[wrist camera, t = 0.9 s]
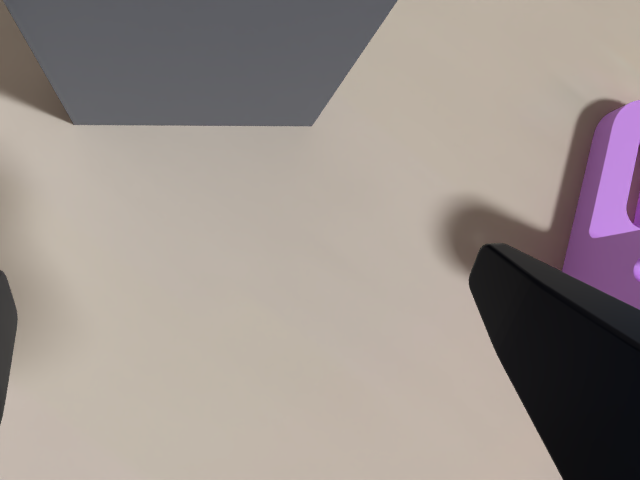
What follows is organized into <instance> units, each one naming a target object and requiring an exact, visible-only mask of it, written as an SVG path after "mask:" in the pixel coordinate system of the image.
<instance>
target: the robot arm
mask: <svg viewBox="0 0 640 480" xmlns="http://www.w3.org/2000/svg"><path fill="white" fill-rule="evenodd" d="M469 287H470V290H471V293H472V295H473V298H474V300H475V303H476V305H477V308H478V310H479V312H480V315H481V317H482V320H483V322H484V325H485V327H486V330H487V332H488V335H489V337H490V340H491V342H492V344H493V347H494V349H495V351H496V353H497V356H498V358H499V360H500V362H501V364H502V365H503V367H504V369H505V371H506V373H507V375H508V377H509V379H510V381H511V382H512V384H513V386H514V388H515V390H516V392H517V394H518V396H519V398H520V399H521V401H522V403H523V405H524V407H525V409H526V411H527V413H528V414H529V416H530V418H531V420H532V422H533V424H534V426H535V428H536V430H537V431H538V433H539V435H540V437H541V439H542V441H543V443H544V445H545V447H546V448H547V450H548V452H549V454H550V456H551V458H552V460H553V462H554V463H555V465H556V467H557V469H558V471H559V473H560V475H561V477H562V479H563V480H640V310H639V309H637V308H635V307H633V306H631V305H629V304H627V303H625V302H623V301H621V300H619V299H617V298H615V297H613V296H611V295H609V294H607V293H605V292H602V291H600V290H598V289H596V288H594V287H592V286H590V285H588V284H586V283H584V282H582V281H580V280H578V279H576V278H574V277H572V276H570V275H568V274H566V273H564V272H562V271H560V270H558V269H556V268H554V267H552V266H549V265H547V264H545V263H543V262H541V261H539V260H537V259H535V258H533V257H531V256H529V255H527V254H525V253H523V252H521V251H519V250H517V249H515V248H513V247H511V246H509V245H507V244H503V243H494V244H485V245H483V246H482V247H481V248H480V250H479V252H478V255H477V258H476V260H475V263H474V265H473V268H472V270H471V273H470V276H469ZM17 320H18V318H17V310H16V306H15V303H14V300H13V296H12V293H11V290H10V287H9V283H8V280H7V277H6V275H5V274H4V272H3V271H1V270H0V424H1V420H2V416H3V411H4V406H5V400H6V394H7V387H8V381H9V375H10V368H11V362H12V355H13V349H14V342H15V336H16V330H17Z"/></svg>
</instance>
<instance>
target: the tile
mask: <svg viewBox="0 0 640 480" xmlns="http://www.w3.org/2000/svg"><path fill="white" fill-rule="evenodd" d="M3 1H4V3H5V5H6V7H7V8H8V10H9V12H10V14H11V15H12V17H13V19H14V21H15V22H16V24H17V26H18V28H19V29H20V31H21V33H22V35H23V36H24V38H25V40H26V42H27V43H28V45H29V47H30V49H31V50H32V52H33V54H34V56H35V57H36V59H37V61H38V63H39V64H40V66H41V68H42V70H43V71H44V73H45V75H46V77H47V78H48V80H49V82H50V84H51V85H52V87H53V89H54V91H55V92H56V94H57V96H58V98H59V99H60V101H61V103H62V105H63V106H64V108H65V110H66V112H67V113H68V115H69V117H70V119H71V121H72V122H73V124H74V125H190V126H312V125H313V124H314V122H315V121H316V119H317V118H318V116H319V115H320V113H321V112H322V110H323V109H324V108H325V106H326V105H327V103H328V102H329V100H330V99H331V97H332V96H333V94H334V93H335V91H336V90H337V88H338V87H339V86H340V84H341V83H342V81H343V80H344V78H345V77H346V75H347V74H348V72H349V71H350V69H351V68H352V66H353V65H354V64H355V62H356V61H357V59H358V58H359V56H360V55H361V53H362V52H363V50H364V49H365V47H366V46H367V44H368V43H369V42H370V40H371V39H372V37H373V36H374V34H375V33H376V31H377V30H378V28H379V27H380V25H381V24H382V22H383V21H384V20H385V18H386V17H387V15H388V14H389V12H390V11H391V9H392V8H393V6H394V5H395V3H396V2H397V0H3Z"/></svg>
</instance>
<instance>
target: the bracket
mask: <svg viewBox="0 0 640 480" xmlns="http://www.w3.org/2000/svg"><path fill="white" fill-rule="evenodd" d="M639 145H640V100H638V101H634V102H631V103H629V104H627V105H624V106H622V107H620V108H618V109H616V110H614V111H612V112H610V113H608V114H607V115H605V116H604V117H603V118H602V119H601V121H600V122H599V123H598V125H597V127H596V129H595V132H594V135H593V140H592V144H591V148H590V153H589V157H588V161H587V166H586V170H585V174H584V179H583V183H582V187H581V191H580V196H579V200H578V204H577V209H576V213H575V217H574V222H573V226H572V230H571V235H570V239H569V243H568V247H567V252H566V256H565V260H564V265H563V269H562V272H564V273H566V274H568V275H570V276H572V277H574V278H576V279H578V280H580V281H582V282H584V283H586V284H588V285H590V286H592V287H594V288H596V289H598V290H600V291H602V292H605V293H607V294H609V295H611V296H613V297H615V298H617V299H619V300H621V301H623V302H625V303H627V304H629V305H631V306H633V307H635V308H637V309H639V310H640V193H639V198H638V203H637V208H636V213H635V218H634V223H633V224H632V222H631V221H630V219H629V218H628V215H627V210H626V206H627V200H628V196H629V191H630V186H631V181H632V176H633V171H634V166H635V162H636V157H637V152H638V147H639Z"/></svg>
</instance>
